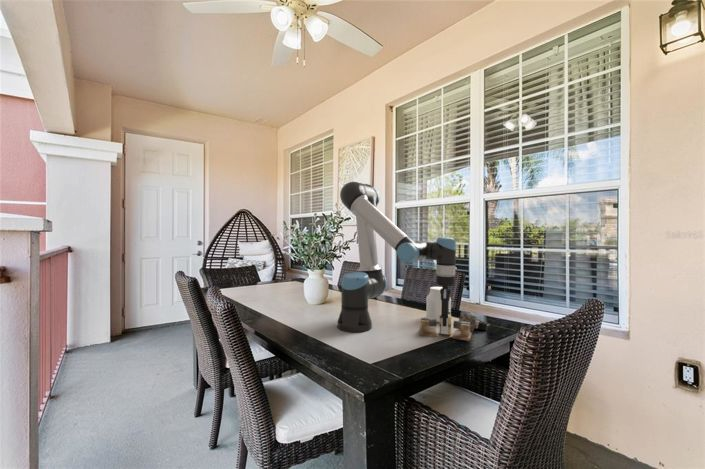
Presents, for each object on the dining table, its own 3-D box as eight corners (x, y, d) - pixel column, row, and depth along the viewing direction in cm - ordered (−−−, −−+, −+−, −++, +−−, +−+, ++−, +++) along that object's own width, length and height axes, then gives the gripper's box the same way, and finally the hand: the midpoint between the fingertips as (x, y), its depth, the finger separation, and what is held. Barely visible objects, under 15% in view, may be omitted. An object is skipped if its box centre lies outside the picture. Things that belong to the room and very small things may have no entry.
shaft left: (420, 335, 133) (420, 320, 133) (419, 329, 141) (420, 315, 141) (436, 336, 132) (437, 321, 132) (435, 330, 140) (435, 316, 140)
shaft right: (452, 338, 130) (452, 323, 130) (455, 332, 137) (455, 318, 137) (469, 340, 127) (469, 325, 127) (471, 335, 134) (472, 320, 134)
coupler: (439, 333, 133) (439, 316, 133) (439, 330, 138) (439, 313, 138) (451, 334, 132) (451, 317, 132) (451, 331, 136) (451, 314, 136)
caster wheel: (485, 333, 145) (484, 336, 136) (459, 324, 150) (456, 327, 141) (489, 318, 145) (488, 320, 136) (463, 310, 150) (460, 311, 141)
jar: (446, 316, 163) (447, 286, 162) (453, 322, 153) (454, 290, 153) (423, 316, 162) (424, 286, 162) (429, 322, 152) (429, 290, 152)
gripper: (455, 278, 125) (453, 339, 125) (455, 273, 142) (454, 326, 142) (434, 277, 127) (433, 337, 128) (437, 272, 144) (436, 324, 144)
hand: (444, 331), depth 135 cm, fingers closed on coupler, 5 cm apart
